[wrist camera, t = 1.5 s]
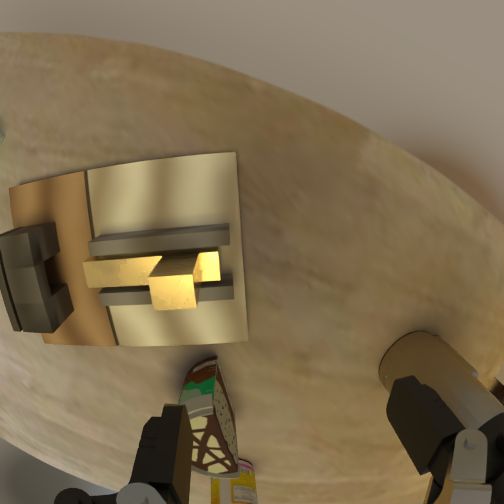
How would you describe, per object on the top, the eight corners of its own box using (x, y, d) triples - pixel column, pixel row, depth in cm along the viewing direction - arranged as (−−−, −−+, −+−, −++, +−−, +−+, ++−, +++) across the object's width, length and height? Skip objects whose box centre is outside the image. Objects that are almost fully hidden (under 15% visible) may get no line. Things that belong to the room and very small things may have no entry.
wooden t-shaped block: (218, 244, 27) (215, 272, 19) (221, 270, 27) (219, 306, 20) (92, 254, 26) (55, 282, 19) (97, 278, 26) (63, 312, 19)
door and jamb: (235, 153, 27) (237, 148, 20) (247, 331, 32) (252, 371, 25) (19, 186, 25) (-21, 194, 19) (51, 335, 30) (25, 366, 24)
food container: (160, 352, 32) (142, 414, 22) (214, 345, 32) (211, 409, 22) (191, 425, 35) (186, 484, 26) (237, 419, 35) (241, 480, 26)
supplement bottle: (219, 480, 40) (221, 543, 27) (204, 461, 38) (203, 530, 25) (258, 473, 40) (267, 538, 27) (247, 453, 38) (254, 525, 25)
